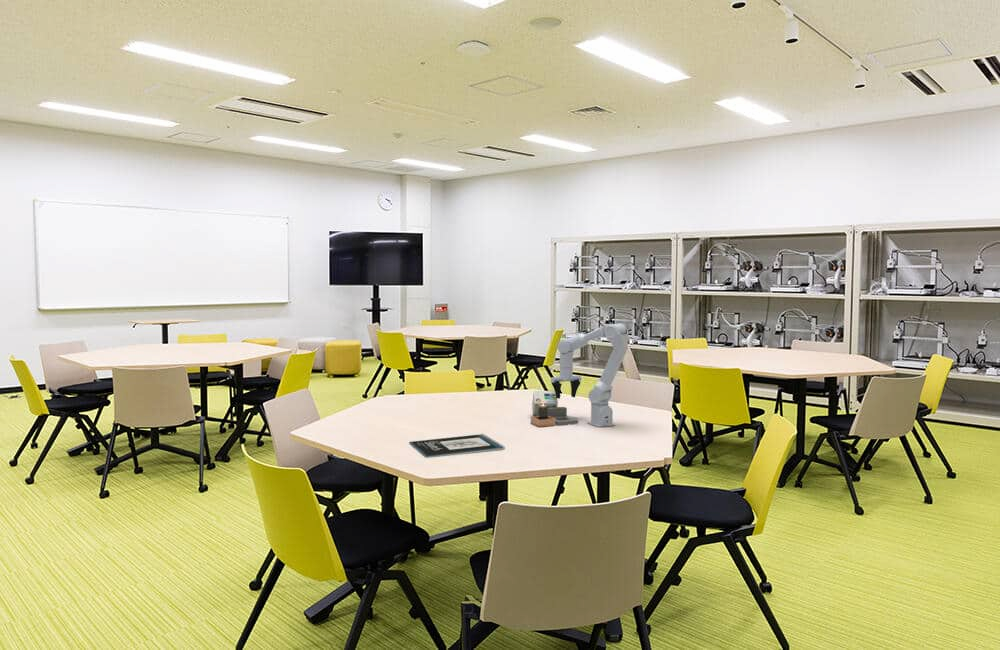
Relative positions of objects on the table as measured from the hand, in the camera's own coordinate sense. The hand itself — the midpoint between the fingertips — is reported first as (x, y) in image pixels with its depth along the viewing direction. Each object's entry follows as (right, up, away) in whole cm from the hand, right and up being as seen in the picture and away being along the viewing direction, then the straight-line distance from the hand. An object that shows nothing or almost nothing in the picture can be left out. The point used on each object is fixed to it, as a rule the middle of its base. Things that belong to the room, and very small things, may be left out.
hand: (565, 397), depth 298 cm
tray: (-11, -10, -12) cm, 19 cm away
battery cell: (-11, -10, -12) cm, 19 cm away
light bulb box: (-9, -7, +8) cm, 14 cm away
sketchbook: (-45, -13, -50) cm, 68 cm away
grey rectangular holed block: (-3, -10, -5) cm, 12 cm away
